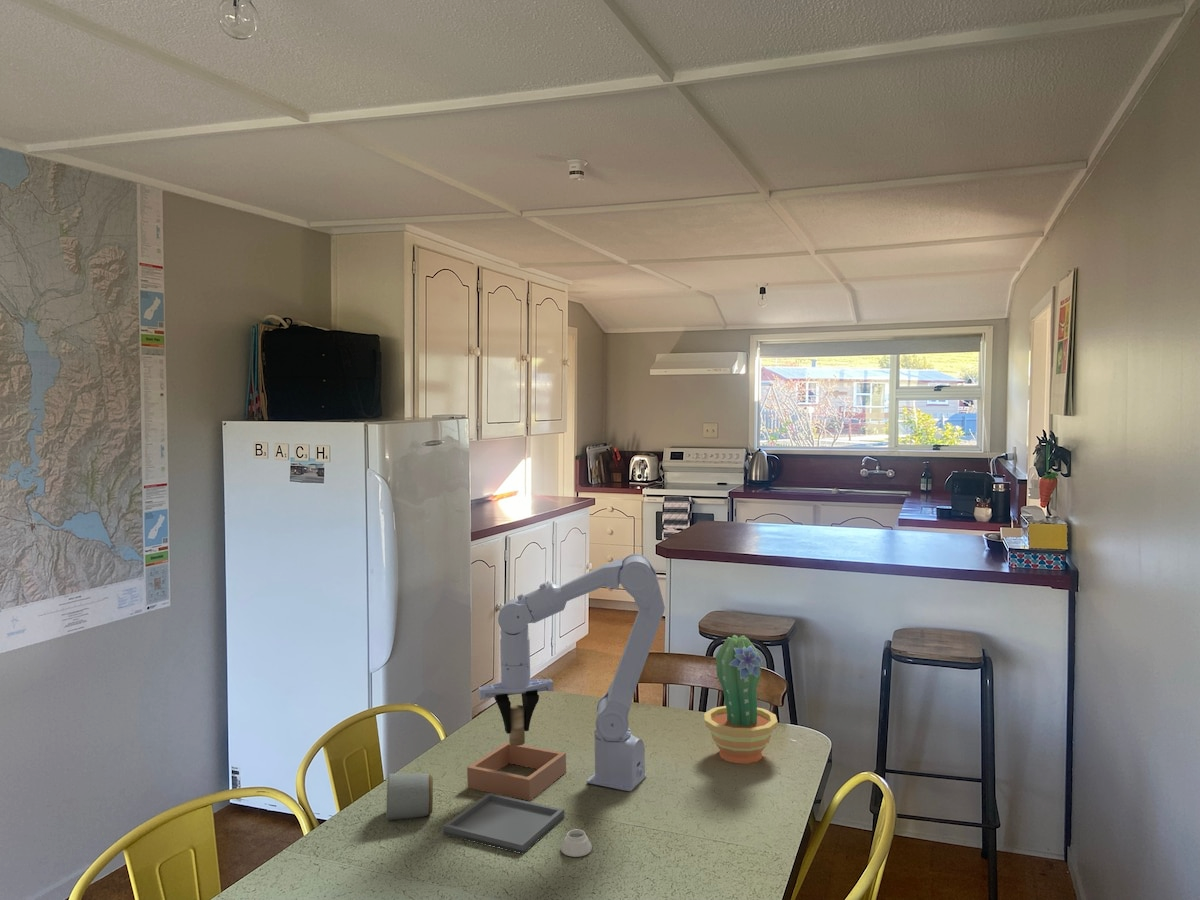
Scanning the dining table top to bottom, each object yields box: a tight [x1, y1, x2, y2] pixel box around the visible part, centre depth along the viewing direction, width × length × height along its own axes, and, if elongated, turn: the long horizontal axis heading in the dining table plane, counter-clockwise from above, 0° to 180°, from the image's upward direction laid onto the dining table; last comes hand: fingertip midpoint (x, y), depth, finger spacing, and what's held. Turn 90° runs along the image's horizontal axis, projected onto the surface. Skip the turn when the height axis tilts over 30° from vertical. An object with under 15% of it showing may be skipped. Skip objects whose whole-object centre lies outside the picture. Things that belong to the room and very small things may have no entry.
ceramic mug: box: [386, 773, 434, 821], centre depth 154 cm, size 11×8×8 cm
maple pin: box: [508, 704, 526, 746], centre depth 166 cm, size 3×3×7 cm
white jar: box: [560, 828, 593, 858], centre depth 139 cm, size 5×3×5 cm
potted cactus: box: [703, 634, 778, 764], centre depth 177 cm, size 15×15×25 cm
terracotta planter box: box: [466, 741, 567, 802], centre depth 167 cm, size 14×14×4 cm
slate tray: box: [442, 792, 565, 854], centre depth 148 cm, size 16×14×2 cm
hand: (516, 730), depth 166 cm, fingers closed on maple pin, 3 cm apart
